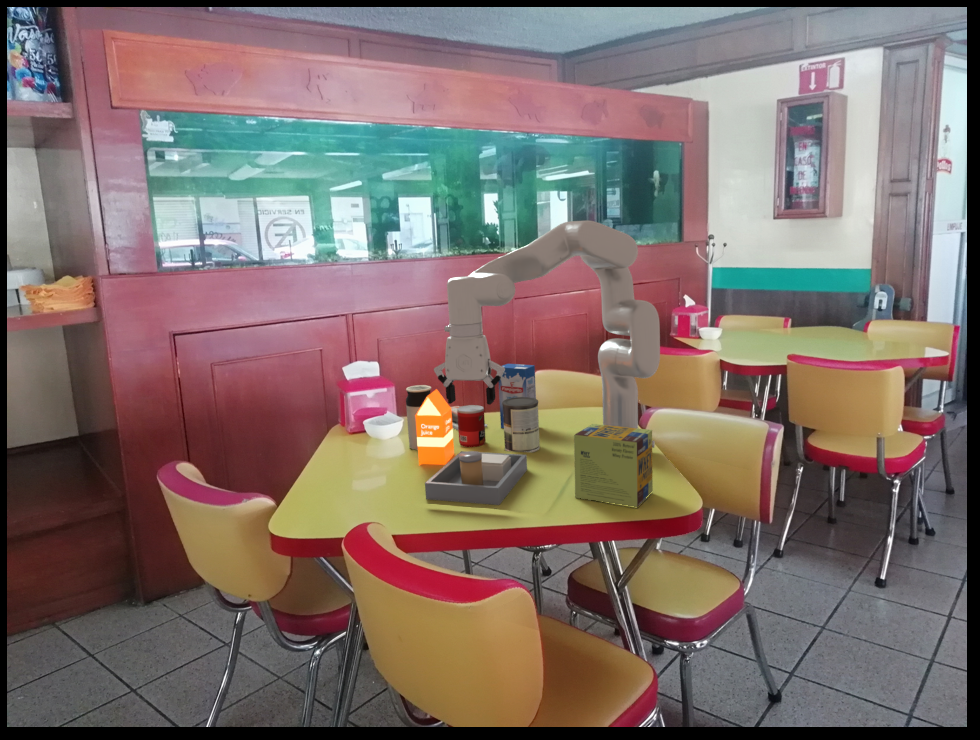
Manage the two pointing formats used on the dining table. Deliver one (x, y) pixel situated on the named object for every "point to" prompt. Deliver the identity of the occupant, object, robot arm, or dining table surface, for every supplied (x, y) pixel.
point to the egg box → (495, 466)
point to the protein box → (613, 464)
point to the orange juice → (434, 430)
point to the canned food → (471, 426)
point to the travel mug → (415, 409)
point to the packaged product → (455, 418)
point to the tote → (491, 492)
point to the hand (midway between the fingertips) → (471, 402)
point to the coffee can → (521, 424)
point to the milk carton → (516, 384)
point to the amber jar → (471, 468)
